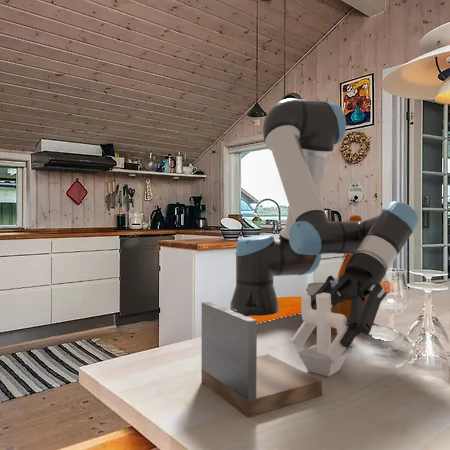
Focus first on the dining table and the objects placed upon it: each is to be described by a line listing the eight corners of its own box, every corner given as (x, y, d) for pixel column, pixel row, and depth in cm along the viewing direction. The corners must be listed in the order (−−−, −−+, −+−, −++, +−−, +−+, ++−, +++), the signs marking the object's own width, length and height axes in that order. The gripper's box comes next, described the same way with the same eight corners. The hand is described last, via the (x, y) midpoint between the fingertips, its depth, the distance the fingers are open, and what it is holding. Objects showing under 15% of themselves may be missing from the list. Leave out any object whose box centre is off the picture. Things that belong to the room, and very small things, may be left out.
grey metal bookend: (208, 366, 76) (208, 301, 76) (256, 398, 63) (256, 320, 63) (201, 368, 75) (201, 302, 75) (248, 400, 63) (248, 321, 62)
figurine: (337, 382, 75) (337, 300, 75) (292, 369, 82) (292, 293, 81) (354, 371, 81) (355, 294, 80) (311, 360, 87) (311, 288, 87)
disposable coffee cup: (351, 332, 107) (351, 286, 106) (325, 339, 101) (326, 290, 101) (323, 324, 115) (323, 281, 114) (297, 329, 109) (298, 284, 109)
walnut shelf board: (268, 366, 83) (268, 354, 83) (321, 395, 70) (321, 380, 70) (201, 382, 76) (201, 368, 75) (248, 417, 63) (248, 400, 63)
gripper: (425, 281, 79) (367, 382, 71) (340, 268, 98) (286, 347, 90) (408, 255, 76) (345, 357, 69) (323, 247, 95) (266, 326, 87)
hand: (312, 351), depth 79 cm, fingers closed on figurine, 9 cm apart
